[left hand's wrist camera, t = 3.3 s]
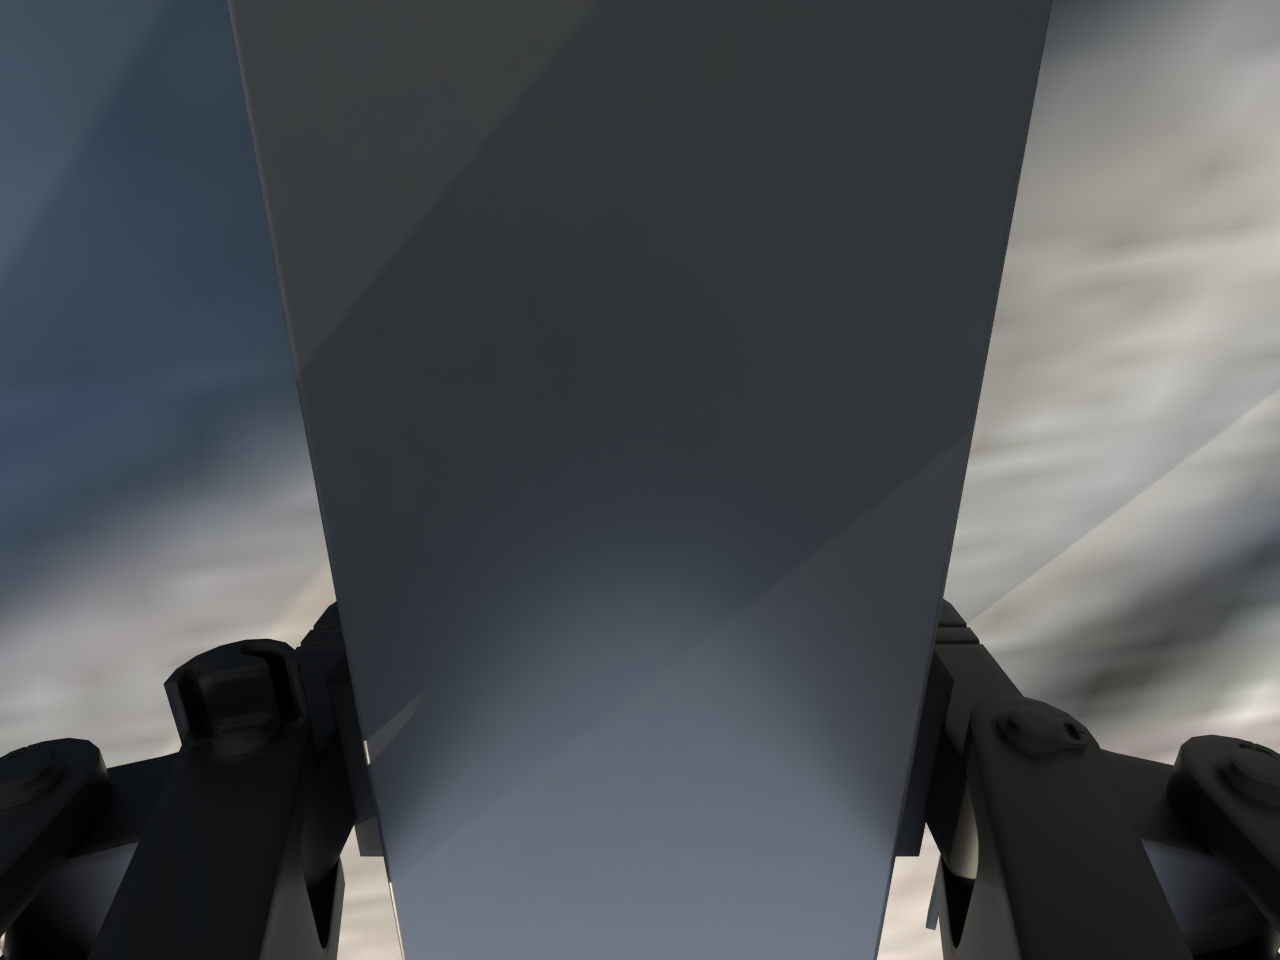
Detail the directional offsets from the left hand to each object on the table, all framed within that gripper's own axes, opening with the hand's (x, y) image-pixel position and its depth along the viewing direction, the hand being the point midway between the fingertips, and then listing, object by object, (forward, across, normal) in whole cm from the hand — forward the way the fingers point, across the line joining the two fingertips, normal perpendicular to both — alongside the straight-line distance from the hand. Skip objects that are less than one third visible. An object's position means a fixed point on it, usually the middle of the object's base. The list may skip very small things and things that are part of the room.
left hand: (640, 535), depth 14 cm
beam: (+1, 0, -20) cm, 20 cm away
